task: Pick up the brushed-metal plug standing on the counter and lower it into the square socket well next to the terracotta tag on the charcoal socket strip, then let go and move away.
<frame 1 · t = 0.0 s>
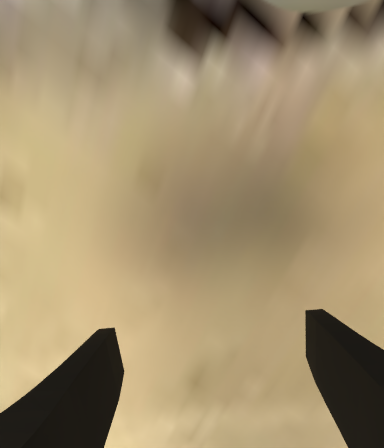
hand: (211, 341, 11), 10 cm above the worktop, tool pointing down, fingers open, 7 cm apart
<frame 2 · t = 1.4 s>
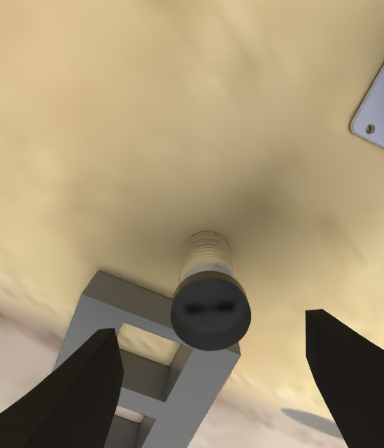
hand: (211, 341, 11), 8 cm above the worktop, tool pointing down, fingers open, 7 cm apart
plug: (206, 253, 20), on the worktop
socket strip: (137, 364, 22), on the worktop
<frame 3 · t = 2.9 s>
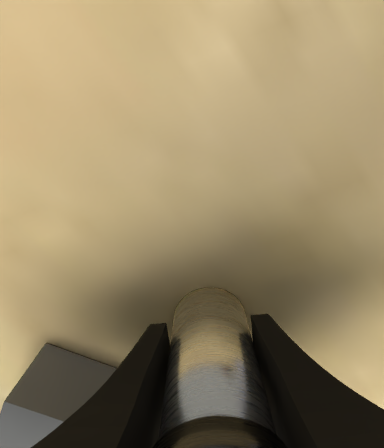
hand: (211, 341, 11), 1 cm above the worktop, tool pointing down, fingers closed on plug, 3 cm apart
plug: (209, 319, 13), on the worktop, touching gripper
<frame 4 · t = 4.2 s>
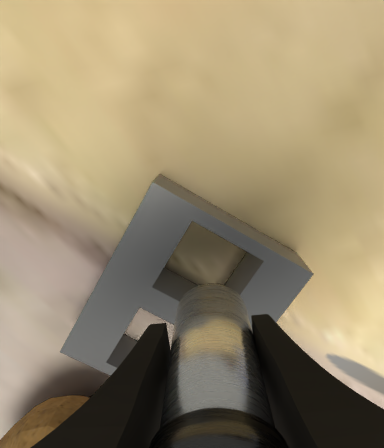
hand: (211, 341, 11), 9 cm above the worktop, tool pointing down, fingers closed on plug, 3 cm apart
potato: (79, 425, 24), on the worktop
plug: (211, 315, 13), point 7 cm above the worktop, touching gripper
socket strip: (182, 289, 20), on the worktop
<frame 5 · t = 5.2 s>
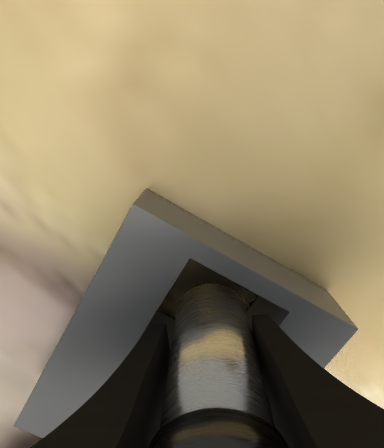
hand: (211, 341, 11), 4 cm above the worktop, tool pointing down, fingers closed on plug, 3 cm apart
plug: (211, 315, 13), point 2 cm above the worktop, touching gripper
socket strip: (178, 335, 16), on the worktop
when the fingers open (4 cm above the worktop, at t = 6.0 s): plug drops 2 cm, resting in socket strip.
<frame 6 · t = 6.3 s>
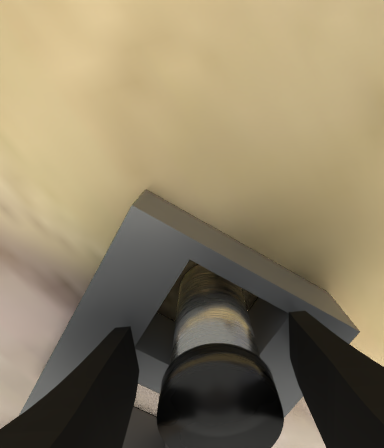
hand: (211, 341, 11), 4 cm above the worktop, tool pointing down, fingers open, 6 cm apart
plug: (210, 291, 15), resting in socket strip
socket strip: (177, 337, 16), on the worktop
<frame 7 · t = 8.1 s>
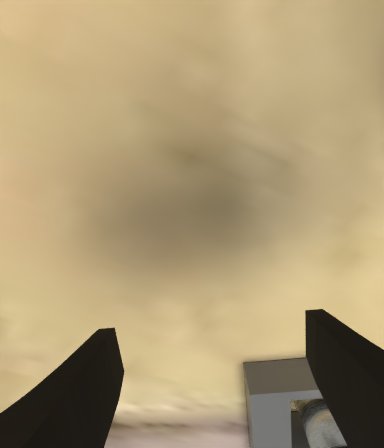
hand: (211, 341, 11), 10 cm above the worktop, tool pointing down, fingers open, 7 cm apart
plug: (309, 387, 24), resting in socket strip
socket strip: (308, 417, 25), on the worktop
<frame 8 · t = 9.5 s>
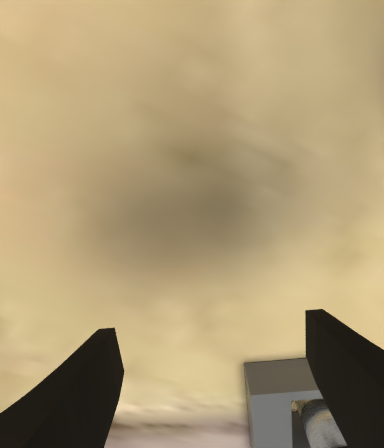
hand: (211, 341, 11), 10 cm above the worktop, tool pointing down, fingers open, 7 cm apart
plug: (309, 387, 24), resting in socket strip
socket strip: (309, 417, 25), on the worktop
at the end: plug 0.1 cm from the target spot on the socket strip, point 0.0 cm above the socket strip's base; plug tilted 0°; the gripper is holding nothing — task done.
